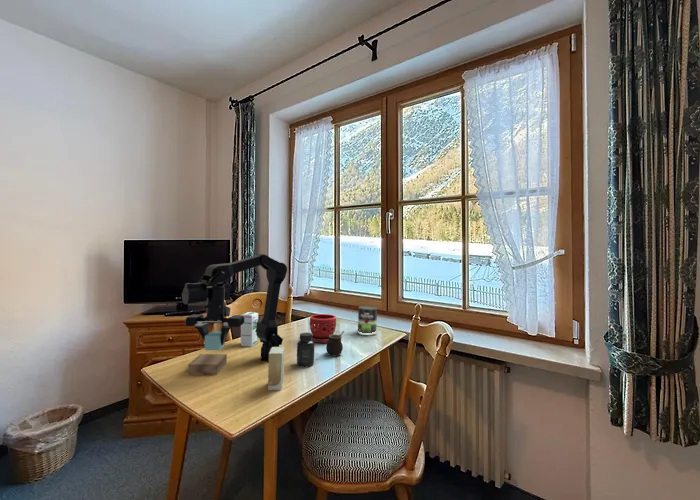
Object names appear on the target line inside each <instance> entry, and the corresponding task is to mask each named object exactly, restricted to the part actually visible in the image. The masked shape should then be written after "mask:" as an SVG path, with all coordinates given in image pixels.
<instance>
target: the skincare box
mask: <svg viewBox="0 0 700 500" xmlns="http://www.w3.org/2000/svg"><path fill="white" fill-rule="evenodd" d="M284 366H285V346H279V347H272V348H271V350H270V352H269V361H268V374H267V375H268V377H267V379H268V380H267V390H268V391H281V390H282V389H283V385H284V375H285V374H284V372H285V371H284V369H285V367H284Z"/></svg>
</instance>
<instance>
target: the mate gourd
mask: <svg viewBox="0 0 700 500" xmlns="http://www.w3.org/2000/svg"><path fill="white" fill-rule="evenodd" d="M344 333H345V331H344V330H343V331H342V332H341V333H340V334H333V335H329V338H328V339H329V340H328V342H326V346H325V350H326V353H327V354H328V355H329V356H330V355H331V356H332V357H338V356H340V355H341V354H342V351H343V350H344V349H343V344H342V335H343V334H344Z"/></svg>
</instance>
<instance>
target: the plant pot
mask: <svg viewBox="0 0 700 500" xmlns="http://www.w3.org/2000/svg"><path fill="white" fill-rule="evenodd" d="M336 326H337V316H336V315H334V314H329V313H319V314H318V313H317V314H312V315H310V316H309V330H310V333H311V334H312V339H311V340H313V341H314V343H321V344H322V343H326V344H327V343H328V340H329V339H328V338H329V335H335V332H336Z"/></svg>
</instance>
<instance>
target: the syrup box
mask: <svg viewBox="0 0 700 500" xmlns="http://www.w3.org/2000/svg"><path fill="white" fill-rule="evenodd" d="M241 315H243V317H244V323H243V324H242V325H241V326H240V346H242V347H248V348H249V347H250V348H252V347H253V346H255V345H256V344H258V343H259V338H258V337H257V335H256V332H255V331H256V328H257V322H259V312H254V311H247V312H246V313H242V314H241Z"/></svg>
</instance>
